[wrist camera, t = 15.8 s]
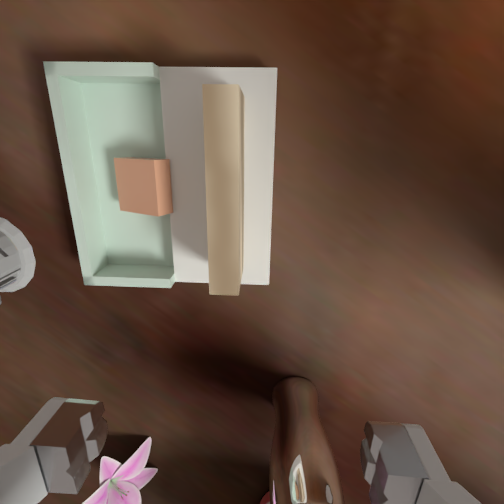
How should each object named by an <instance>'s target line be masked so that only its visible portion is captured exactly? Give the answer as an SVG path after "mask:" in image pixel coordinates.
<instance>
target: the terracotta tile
mask: <svg viewBox="0 0 504 504" xmlns="http://www.w3.org/2000/svg"><path fill="white" fill-rule="evenodd" d="M114 166H115V174H116V182H117V190H118V197H119V205H120V211H127V212H133V213H139V214H145V215H152V216H158V217H159V216H163V215H166V214H170V213H173V203H172V188H171V174H170V159H157V158H139V157H119V158H114Z"/></svg>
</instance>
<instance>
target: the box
mask: <svg viewBox="0 0 504 504" xmlns="http://www.w3.org/2000/svg"><path fill="white" fill-rule="evenodd" d="M43 65H44V70H45V75H46V81H47V86H48V92H49V97H50V102H51V108H52V113H53V119H54V124H55V129H56V135H57V140H58V146H59V151H60V156H61V162H62V167H63V173H64V178H65V183H66V189H67V194H68V200H69V205H70V210H71V216H72V221H73V227H74V232H75V237H76V243H77V248H78V254H79V259H80V264H81V270H82V275H83V281H84V285H99V286H128V287H157V288H171V287H172V285H173V284H174V282H175V276H174V262H173V249H172V236H171V222H170V214H166V215H163V216H159V217H158V216H152V215H145V214H139V213H133V212H127V211H120V205H119V197H118V190H117V182H116V174H115V166H114V158H119V157H139V158H157V159H166V156H165V142H164V129H163V116H162V102H161V89H160V76H159V66H157V65H156V64H154V63H153V62H47V61H43Z"/></svg>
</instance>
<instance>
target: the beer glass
mask: <svg viewBox="0 0 504 504" xmlns="http://www.w3.org/2000/svg"><path fill="white" fill-rule="evenodd" d="M272 402H273V406H274V410H275V429H274V435H273V440H272V447H271V453H270V462H269V496H270V504H345V501H344V495H343V489H342V483H341V478H340V474H339V470H338V466H337V462H336V459H335V456H334V453H333V450H332V447H331V445H330V442H329V440H328V437H327V435H326V433H325V430H324V428H323V425H322V422H321V420H320V416H319V394H318V390H317V388H316V386H315V385H314V384H313V383H312V382H311V381H309V380H307V379H305V378H301V377H289V378H285V379H283V380H281V381H280V382H278V383H277V384H276V385H275V387H274V388H273V391H272Z"/></svg>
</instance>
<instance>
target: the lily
mask: <svg viewBox="0 0 504 504" xmlns="http://www.w3.org/2000/svg"><path fill="white" fill-rule="evenodd" d="M150 448H151V437H149V438H148V439H147V440H146V441H145V442H144V443H143V444H142V445H141V446H140V447H139V448H138V449H137V451H136V452H135V453H134V454H133V455H132V456H131V457H130V458H129V459H128V460H127V461H126V462H125V463H124V464H123V465H122V464H121V463H120V462H118V461H116V460H114V459H112V458H109V457H106V456H103V457H102V458H101V462H100V488H99V489H98V490H97V491H96V492H95V493H93V494H92V495H91V496H90V497H89V498H88V499H87V500H86V501H85V502H83V503H82V504H141V495H140V491H139V490H140V489H141V488H142V487H144V486H145V485H146V484H147V483H148V482H149V481H150V480H151V479H152V478H153V477H154V475H155V474H156V473H157V471H158V468H144V467H145V465H146V463H147V460H148V457H149V453H150Z"/></svg>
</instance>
